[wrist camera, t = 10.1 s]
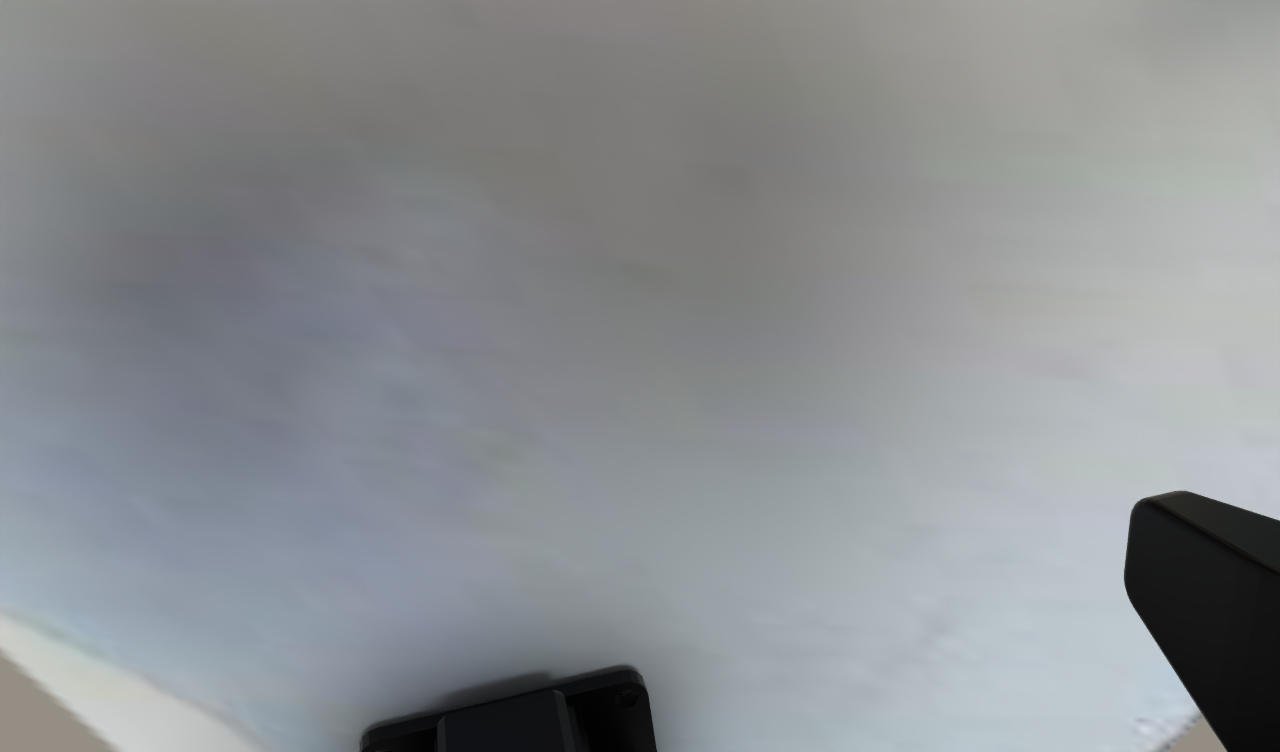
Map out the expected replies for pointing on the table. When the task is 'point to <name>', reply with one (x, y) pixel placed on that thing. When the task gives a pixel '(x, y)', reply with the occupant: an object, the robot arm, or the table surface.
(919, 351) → the table surface
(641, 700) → the robot arm
